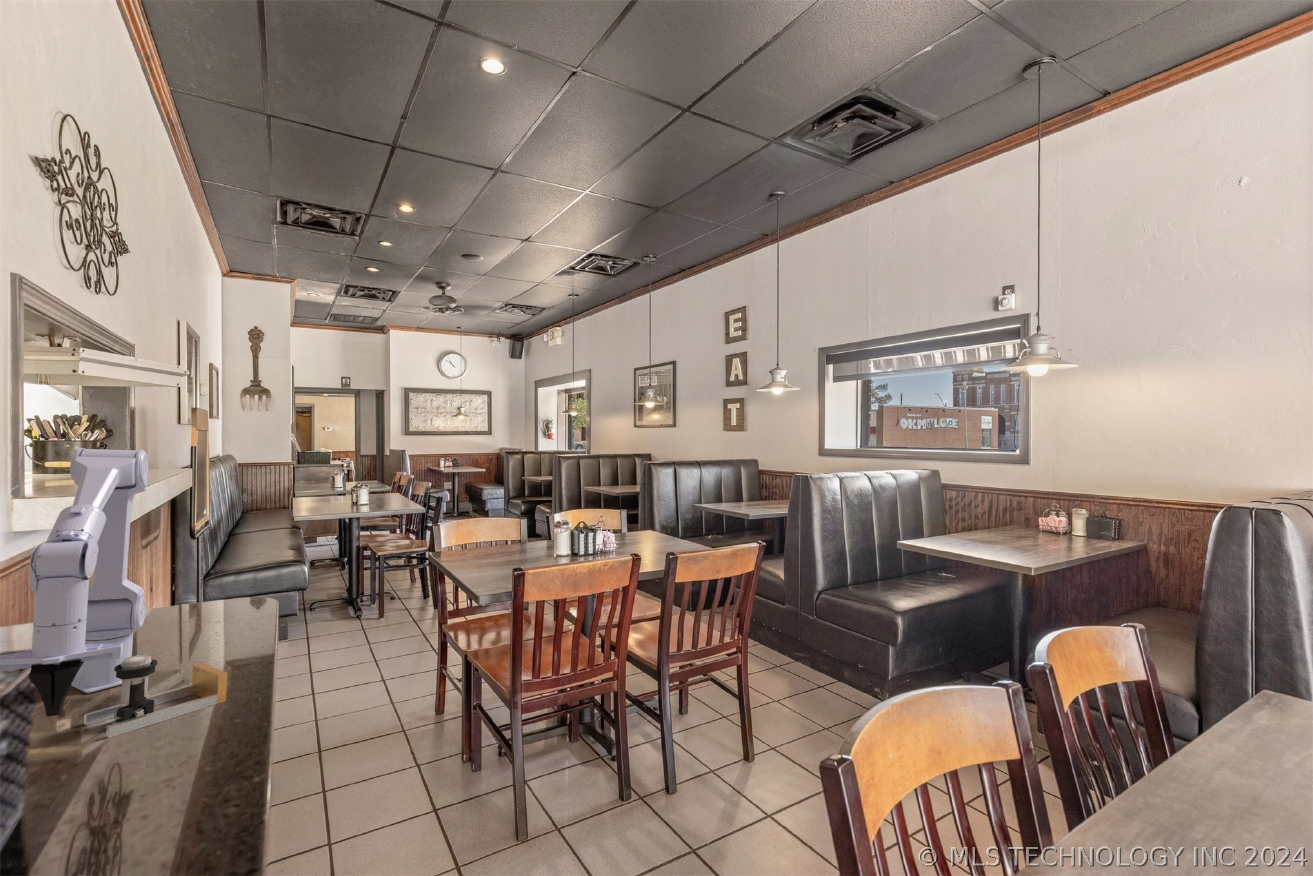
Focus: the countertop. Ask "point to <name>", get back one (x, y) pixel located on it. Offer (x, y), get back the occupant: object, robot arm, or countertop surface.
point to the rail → (204, 684)
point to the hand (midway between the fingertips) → (54, 713)
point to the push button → (134, 687)
